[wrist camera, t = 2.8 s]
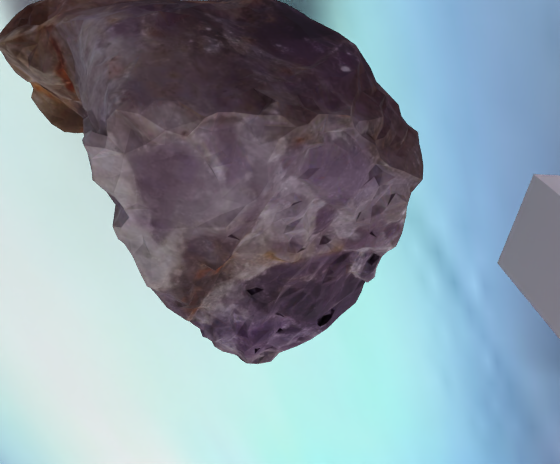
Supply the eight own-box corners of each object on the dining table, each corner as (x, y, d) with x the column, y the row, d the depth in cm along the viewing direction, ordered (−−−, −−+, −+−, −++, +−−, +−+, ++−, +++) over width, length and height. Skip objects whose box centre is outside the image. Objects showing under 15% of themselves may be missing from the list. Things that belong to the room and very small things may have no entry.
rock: (185, 256, 23) (393, 155, 22) (199, 436, 17) (495, 310, 15) (-23, 19, 15) (277, -163, 14) (-143, 185, 9) (385, -116, 8)
